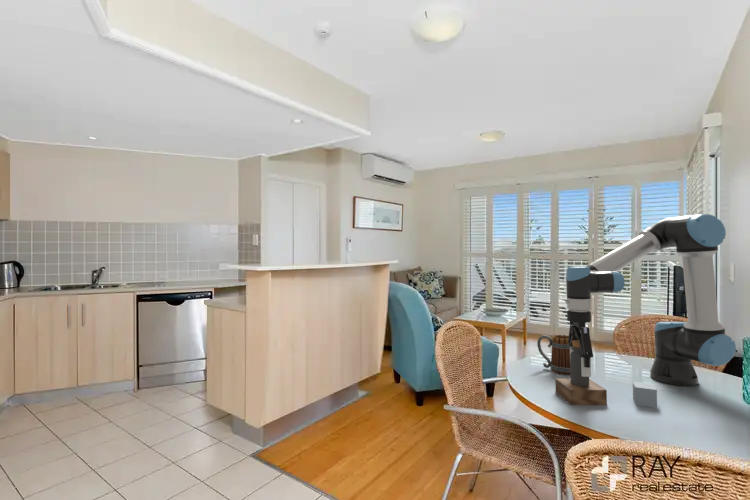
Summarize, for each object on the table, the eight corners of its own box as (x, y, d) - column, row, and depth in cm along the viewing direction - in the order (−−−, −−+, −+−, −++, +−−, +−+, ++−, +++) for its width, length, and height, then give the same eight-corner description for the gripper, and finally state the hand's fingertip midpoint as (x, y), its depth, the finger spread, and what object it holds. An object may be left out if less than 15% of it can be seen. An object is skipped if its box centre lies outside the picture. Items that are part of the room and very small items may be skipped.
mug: (578, 370, 170) (578, 335, 170) (576, 377, 161) (575, 340, 161) (540, 365, 178) (539, 332, 178) (535, 371, 169) (535, 336, 169)
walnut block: (588, 391, 144) (588, 378, 144) (606, 404, 132) (606, 389, 132) (555, 392, 144) (555, 378, 144) (570, 404, 132) (570, 390, 132)
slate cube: (653, 401, 134) (653, 384, 134) (657, 408, 129) (656, 389, 129) (633, 398, 137) (632, 381, 137) (635, 405, 132) (635, 387, 132)
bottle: (591, 387, 135) (591, 343, 135) (573, 386, 136) (572, 343, 136) (586, 381, 140) (585, 339, 140) (568, 380, 142) (567, 339, 142)
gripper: (558, 305, 151) (559, 359, 151) (577, 315, 127) (579, 381, 127) (579, 305, 150) (580, 360, 150) (603, 316, 125) (604, 382, 125)
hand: (580, 370), depth 138 cm, fingers open, 13 cm apart
